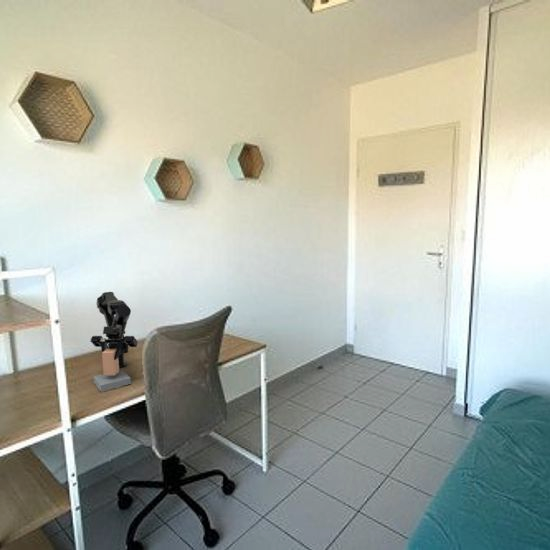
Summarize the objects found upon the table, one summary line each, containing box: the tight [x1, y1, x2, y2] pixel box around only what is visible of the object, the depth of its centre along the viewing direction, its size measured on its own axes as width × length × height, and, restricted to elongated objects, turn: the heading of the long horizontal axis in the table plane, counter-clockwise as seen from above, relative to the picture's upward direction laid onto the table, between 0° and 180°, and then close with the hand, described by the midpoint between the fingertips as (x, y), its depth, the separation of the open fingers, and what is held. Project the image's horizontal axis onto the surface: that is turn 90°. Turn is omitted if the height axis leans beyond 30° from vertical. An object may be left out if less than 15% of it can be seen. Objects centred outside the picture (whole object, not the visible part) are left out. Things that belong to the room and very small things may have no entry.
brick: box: [101, 349, 120, 375], centre depth 165 cm, size 5×5×10 cm
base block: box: [93, 369, 132, 393], centre depth 166 cm, size 12×12×3 cm
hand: (108, 359), depth 163 cm, fingers closed on brick, 5 cm apart
